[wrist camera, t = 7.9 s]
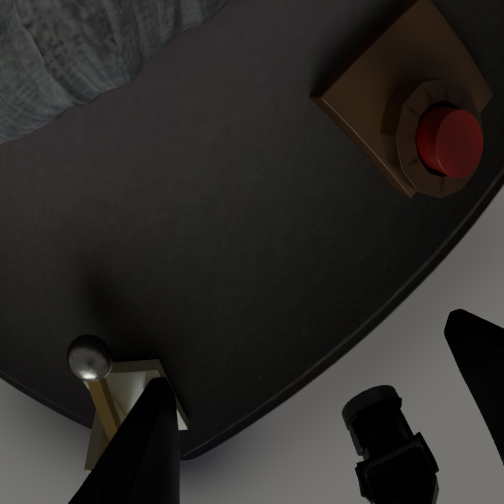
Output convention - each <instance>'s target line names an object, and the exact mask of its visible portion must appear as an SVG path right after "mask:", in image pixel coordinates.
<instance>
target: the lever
mask: <svg viewBox="0 0 504 504" xmlns="http://www.w3.org/2000/svg"><path fill="white" fill-rule="evenodd" d="M67 362H68V365H69V368H70V369H71V371H72V372H73V374H74V375H75V376H77V377H78V378H79V379H81V380H83V381H86V382H87V384H88V387H89V389H90V392H91V395H92V398H93V401H94V404H95V406H96V409H97V412H98V414H99V417H100V419H101V422H102V424H103V427H104V429H105V432H106V434H107V436H108V439H109V441H111V440H112V438H113V436H114V435H115V433H116V432H117V430H118V429H119V427H120V426H121V421H120V418H119V416H118V413H117V410H116V407H115V404H114V402H113V399H112V396H111V393H110V390H109V387H108V384H107V381H106V376H107V375H108V374H109V372H110V371H111V368H112V365H113V356H112V352H111V350H110V348H109V346H108V345H107V343H106V342H105V341H104V340H103V339H101V338H99V337H98V336H95V335H90V334H85V335H81V336H79V337H77V338H75V339H74V340H73V341H72V342H71V344H70V345H69V347H68V351H67Z"/></svg>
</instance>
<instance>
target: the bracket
mask: <svg viewBox="0 0 504 504" xmlns="http://www.w3.org/2000/svg"><path fill="white" fill-rule="evenodd" d="M155 377H166V378H167V376H166V374H165V372H164V370H163V368H162V365H161V363H160V361H159V359H152V360H141V361H128V362H114V363H113V365H112V368H111V371H110V372H109V374H108V375H107V376H106V381H107V384H108V387H109V390H110V393H111V396H112V399H113V402H114V404H115V407H116V410H117V413H118V416H119V418H120V421H121V424H122V423H123V421H124V419H125V418H126V416H127V415H128V413H129V412H130V410H131V409H132V407H133V406H134V404H135V403H136V401H137V400H138V398H139V397H140V395H141V393H142V392H143V390H144V389H145V387H146V386H147V384H148V383H149V381H150V380H151V379H152V378H155ZM167 380H168V378H167ZM83 382H84V383H85V385H86V386H87V388H88V389H89V387H88V384H87V382H86V381H83ZM168 382H169V380H168ZM169 384H170V383H169ZM170 386H171V385H170ZM171 388H172V387H171ZM89 390H90V389H89ZM174 394H175V393H174ZM175 397H176V395H175ZM176 406H177V418H178V429H179V430H186V429H188V419H187V417H186V415H185V413H184V411H183V409H182V407H181V405H180V403H179V401H178V399H177V397H176ZM109 443H110V441H109V439H108V436H107V434H106V432H105V429H104V427H103V424H102V422H101V419H100V417H99V414H98V412H97V409H96V413H95V417H94V422H93V426H92V431H91V436H90V441H89V447H88V452H87V457H86V463H85V471H87V472H88V473H89V474H90V472H91V470H92V469H93V468H95V467H94V466H95V464H96V463H97V461H98V460H99V458H100V457H101V455H102V454H103V452H104V450H105V449H106V447H107V446H108V444H109Z"/></svg>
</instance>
